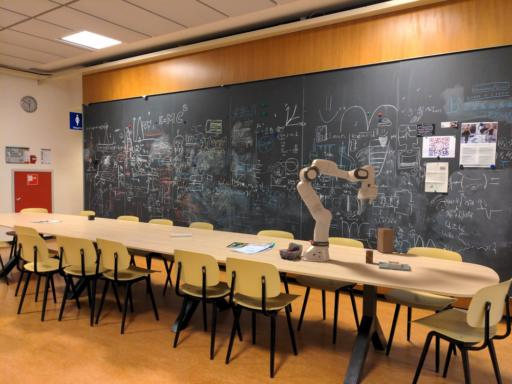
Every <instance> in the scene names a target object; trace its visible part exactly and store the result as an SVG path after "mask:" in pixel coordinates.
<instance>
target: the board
mask: <svg viewBox="0 0 512 384" xmlns="http://www.w3.org/2000/svg"><path fill="white" fill-rule="evenodd" d="M378 269H383V270H391V269H392V270H393V271H402V270H403V271H404V272H410V271H411V269H410V265H409V264H408V263H401V261H394V260H393V261H392V260H387V261H386V262H385V261H379V262H378Z"/></svg>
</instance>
